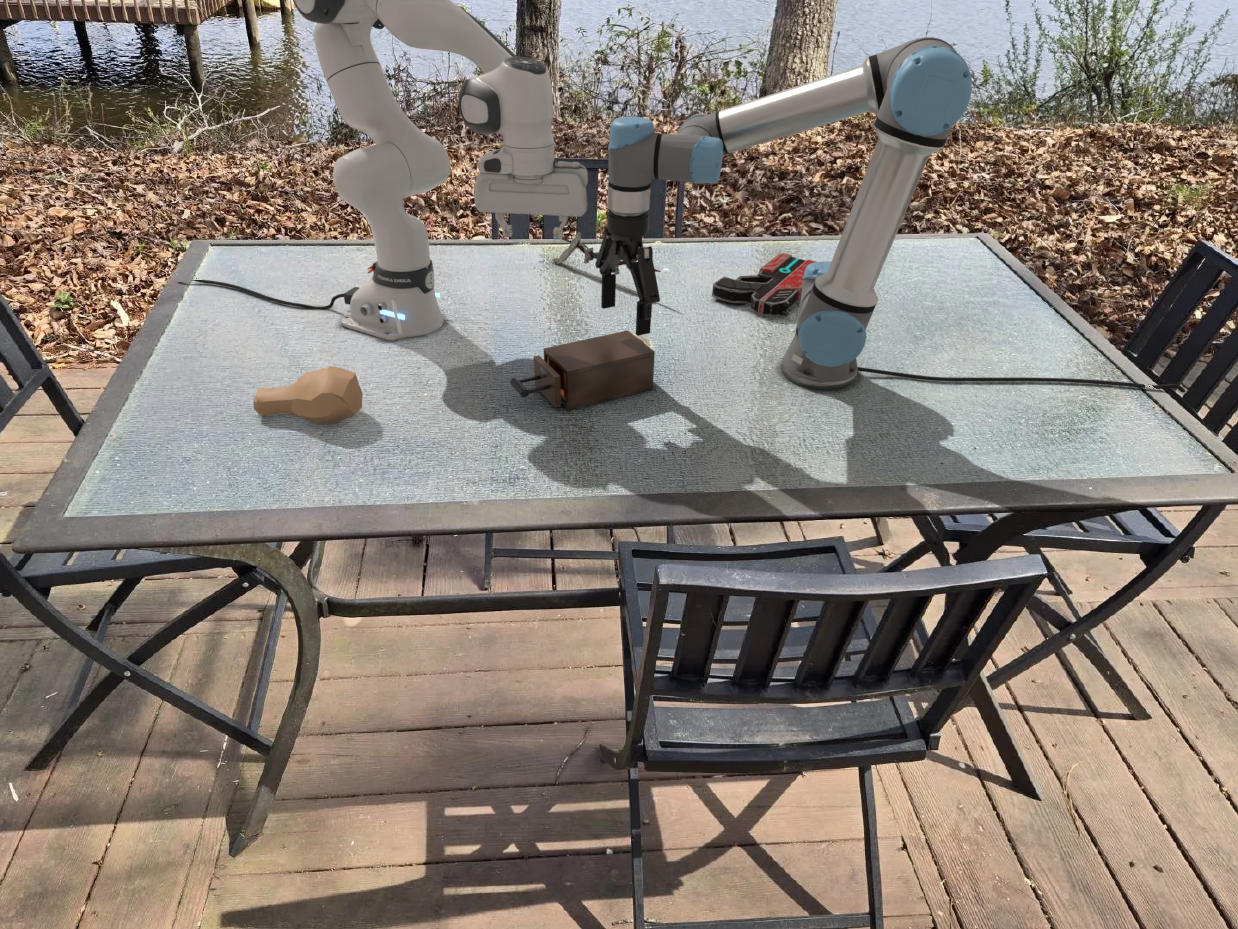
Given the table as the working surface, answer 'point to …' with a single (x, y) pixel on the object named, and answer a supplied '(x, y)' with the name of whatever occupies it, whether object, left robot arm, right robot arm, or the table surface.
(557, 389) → the drawer
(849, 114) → the right robot arm
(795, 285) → the gun
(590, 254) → the bow
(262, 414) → the squash
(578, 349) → the cabinet
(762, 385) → the table surface
